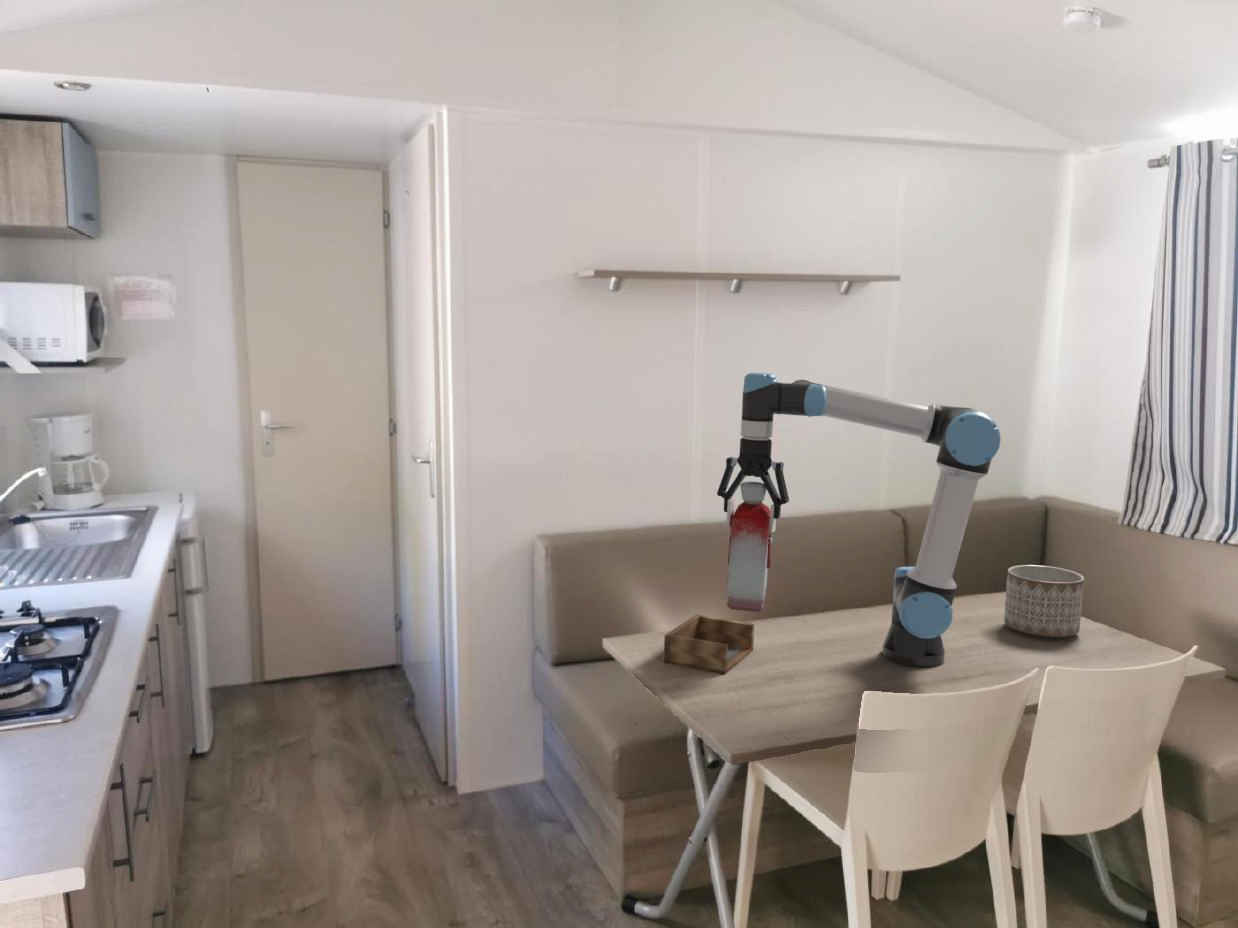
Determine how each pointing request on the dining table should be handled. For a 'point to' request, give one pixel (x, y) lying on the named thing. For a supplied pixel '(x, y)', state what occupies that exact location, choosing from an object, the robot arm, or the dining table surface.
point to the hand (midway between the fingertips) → (750, 528)
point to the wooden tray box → (709, 643)
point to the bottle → (749, 550)
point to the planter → (1043, 600)
